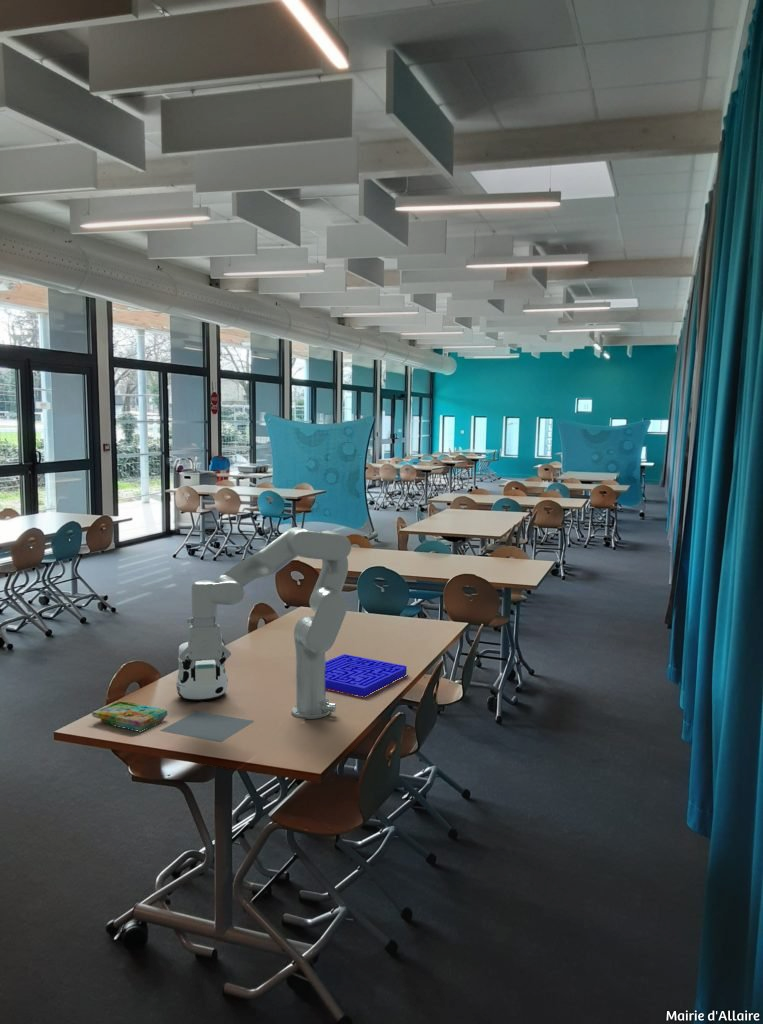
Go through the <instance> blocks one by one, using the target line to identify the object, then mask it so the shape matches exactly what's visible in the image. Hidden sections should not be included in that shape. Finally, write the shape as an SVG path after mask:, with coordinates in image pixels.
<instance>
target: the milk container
mask: <svg viewBox="0 0 763 1024" xmlns="http://www.w3.org/2000/svg"><path fill="white" fill-rule="evenodd" d="M222 645H223V646H224V647H225V644H224V642H222ZM187 647H188V641H186V642H183V643H181V644H180V645H179V646H178V658H177V659H178V662H177V663H178V673H177V677H176V682H175V683H176V684H175V686H176V691H177V694H178V696H179V697H180V698H182V699H183V700H187V701H190V702H191V701H192V702H193V701H194V702H195V701H196V702H199V701H200V702H205V701H210V700H214V699H218V698H219V697H222V696H223V695H224V694H225V693H226V692H227V689H228V684H229V683H228V682H229V681H228V679H229V678H228V674H227V672H226V661H225V662H224V663H223V664H222V665H221V666H220V676H218V680H216V685H202V686H196V685H195V681H193V678H191V668H190V667H189V666H188V665H187V664H186V663H185V662H184V661H183V660H181V659H180V658H179V656H180V654H181V653H182V652H183V651H184V650H185V649H186V648H187ZM224 655H225V653H224V652H223V651H222V657H223V656H224ZM222 657H221V658H222ZM186 658H188V659H189V657H188V653H187V655H186ZM221 658H219V659H221ZM189 660H190V659H189ZM210 660H214V659H210ZM190 661H191V660H190ZM196 661H205V660H196ZM195 665H196V663H195Z"/></svg>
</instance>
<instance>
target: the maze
mask: <svg viewBox="0 0 763 1024" xmlns="http://www.w3.org/2000/svg"><path fill="white" fill-rule="evenodd" d="M325 671H326V690H327V689H330V690H329V691H331V690H334V691H333V692H335V691H339V692H338V693H340V692H343V693H342V694H344V693H349V694H353V695H358V696H363V697H365V696H367V695H369V694H370V693H372V692H374V691H376V690H378V689H380V688H382V687H384V686H386V685H388V684H390V683H392V682H393V681H395V680H397V679H399V678H401V677H404V676H405V675H406V674H407V665H404V664H398V663H392V662H388V661H381V660H376V659H371V658H366V657H361V656H356V655H350V654H347V653H346V654H345V653H344V654H341V655H339V656H336V657H334V658H331V659H329V660H326V666H325ZM349 694H348V695H349ZM353 695H352V696H353ZM369 696H370V695H369ZM367 697H368V696H367ZM365 698H366V697H365Z"/></svg>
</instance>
